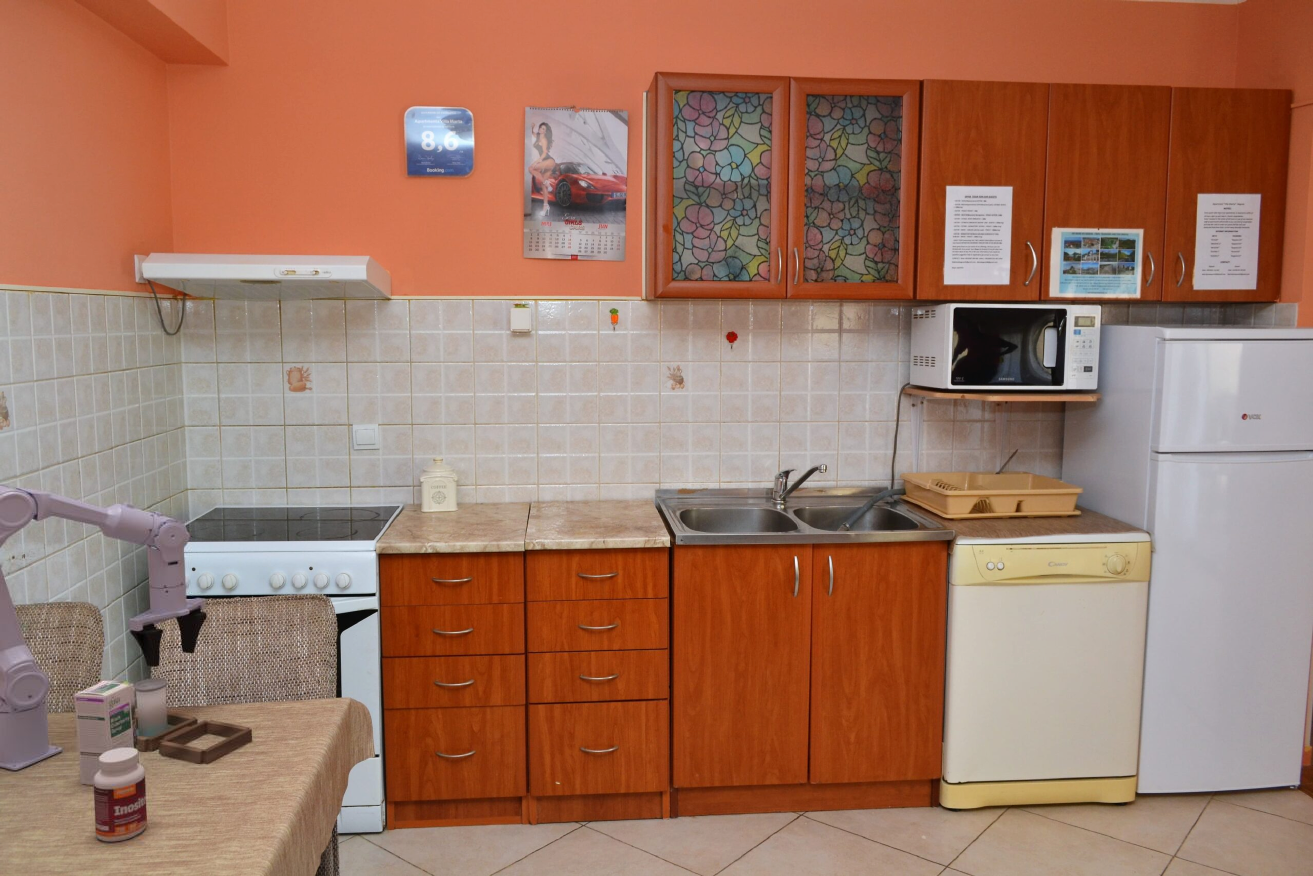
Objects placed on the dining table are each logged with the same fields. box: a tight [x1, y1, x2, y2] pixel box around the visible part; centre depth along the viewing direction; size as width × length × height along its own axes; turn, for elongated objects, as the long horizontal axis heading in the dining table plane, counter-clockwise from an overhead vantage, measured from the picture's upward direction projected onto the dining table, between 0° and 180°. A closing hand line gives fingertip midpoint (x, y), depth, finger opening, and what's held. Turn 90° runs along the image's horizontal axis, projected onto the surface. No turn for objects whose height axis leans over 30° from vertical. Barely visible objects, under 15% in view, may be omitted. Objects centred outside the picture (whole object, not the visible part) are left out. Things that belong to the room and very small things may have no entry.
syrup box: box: [73, 680, 140, 787], centre depth 146 cm, size 6×6×14 cm
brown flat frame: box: [136, 710, 253, 765], centre depth 160 cm, size 22×10×2 cm, turn 69°
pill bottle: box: [93, 748, 148, 843], centre depth 130 cm, size 6×6×11 cm
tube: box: [134, 677, 168, 738], centre depth 161 cm, size 5×5×9 cm
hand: (171, 659), depth 170 cm, fingers open, 7 cm apart
